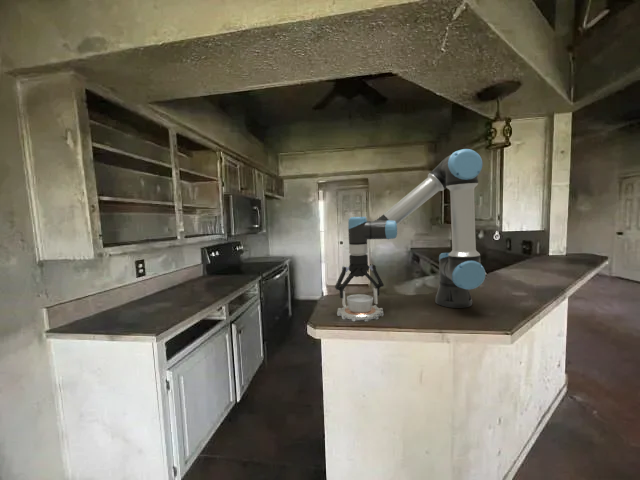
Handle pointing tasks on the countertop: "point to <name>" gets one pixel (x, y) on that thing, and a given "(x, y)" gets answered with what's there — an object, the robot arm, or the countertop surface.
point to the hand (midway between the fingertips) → (359, 304)
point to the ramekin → (359, 303)
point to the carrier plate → (360, 314)
